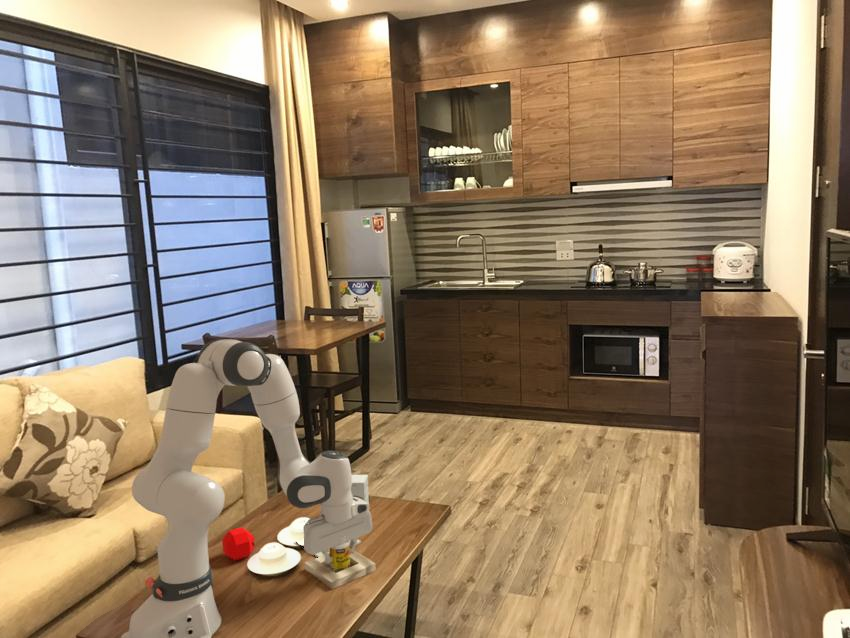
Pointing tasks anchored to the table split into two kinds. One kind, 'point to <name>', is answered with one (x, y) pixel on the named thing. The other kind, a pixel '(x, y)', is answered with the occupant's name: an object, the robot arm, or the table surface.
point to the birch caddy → (335, 580)
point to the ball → (238, 543)
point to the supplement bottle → (340, 556)
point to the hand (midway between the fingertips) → (339, 557)
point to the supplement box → (360, 487)
